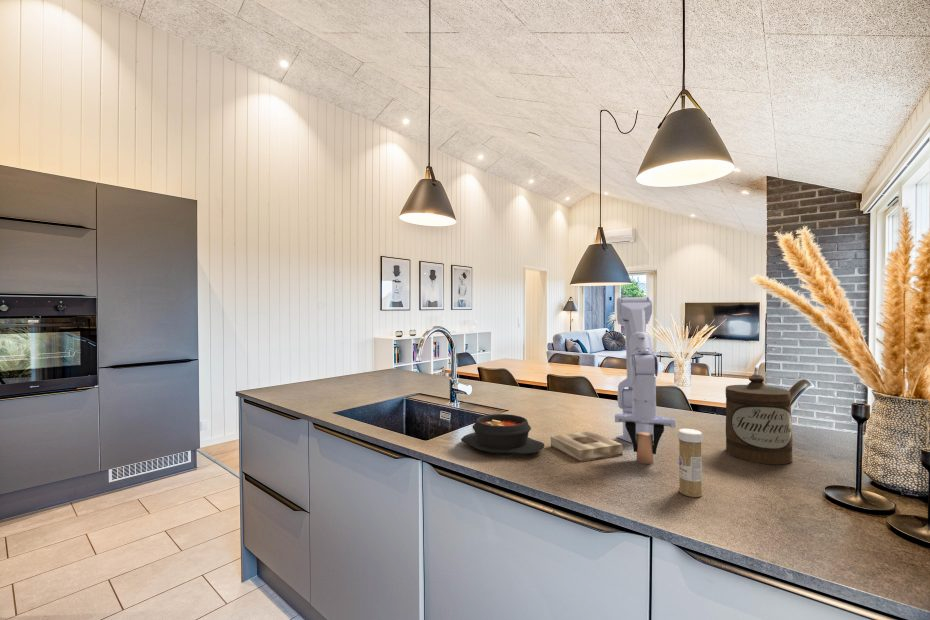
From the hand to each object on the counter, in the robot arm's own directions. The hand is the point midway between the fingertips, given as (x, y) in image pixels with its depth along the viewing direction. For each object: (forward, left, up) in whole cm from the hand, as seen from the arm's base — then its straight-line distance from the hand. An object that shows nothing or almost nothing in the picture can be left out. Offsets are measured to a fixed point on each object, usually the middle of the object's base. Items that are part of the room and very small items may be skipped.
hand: (644, 451), depth 109 cm
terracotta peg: (0, 0, -2) cm, 2 cm away
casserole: (+30, -24, -3) cm, 39 cm away
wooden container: (-32, +8, -3) cm, 33 cm away
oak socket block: (+9, -13, -2) cm, 16 cm away
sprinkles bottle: (+6, +19, -3) cm, 20 cm away
